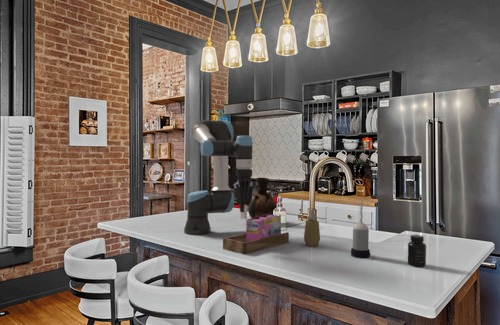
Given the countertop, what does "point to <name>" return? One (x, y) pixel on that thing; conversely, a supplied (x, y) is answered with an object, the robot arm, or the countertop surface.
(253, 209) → the ceramic vessel
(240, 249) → the u-shaped wooden frame
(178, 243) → the countertop surface
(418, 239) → the supplement bottle
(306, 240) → the squeeze bottle
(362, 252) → the grey long nozzle bottle
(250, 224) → the gum box
